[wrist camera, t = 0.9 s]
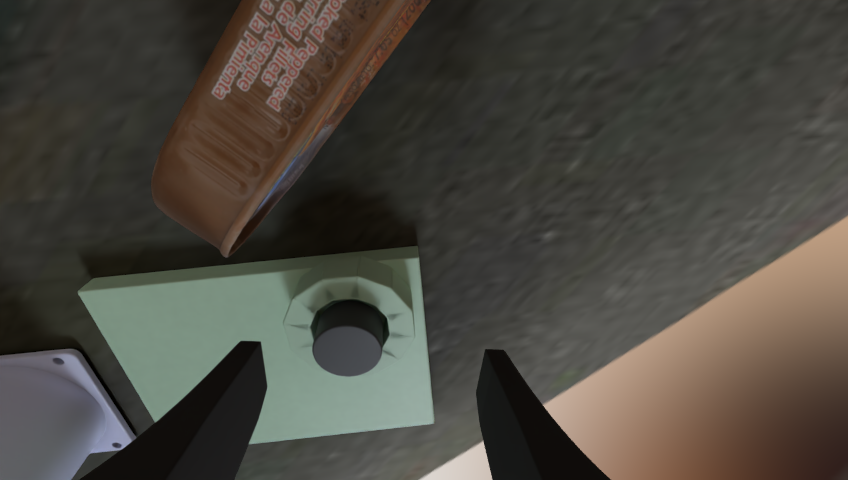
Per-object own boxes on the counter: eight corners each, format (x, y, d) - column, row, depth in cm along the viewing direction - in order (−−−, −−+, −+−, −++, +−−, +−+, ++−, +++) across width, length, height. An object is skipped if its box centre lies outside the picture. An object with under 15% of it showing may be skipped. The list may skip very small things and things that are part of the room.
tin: (280, 202, 18) (204, 320, 11) (216, 159, 17) (83, 259, 10) (516, -116, 14) (665, -288, 6) (448, -203, 13) (529, -538, 5)
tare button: (325, 352, 19) (319, 380, 18) (312, 303, 18) (304, 329, 16) (386, 346, 19) (386, 373, 18) (378, 296, 18) (377, 321, 17)
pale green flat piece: (181, 435, 25) (157, 483, 23) (88, 269, 19) (40, 308, 17) (433, 407, 26) (438, 451, 23) (416, 237, 20) (420, 269, 17)
